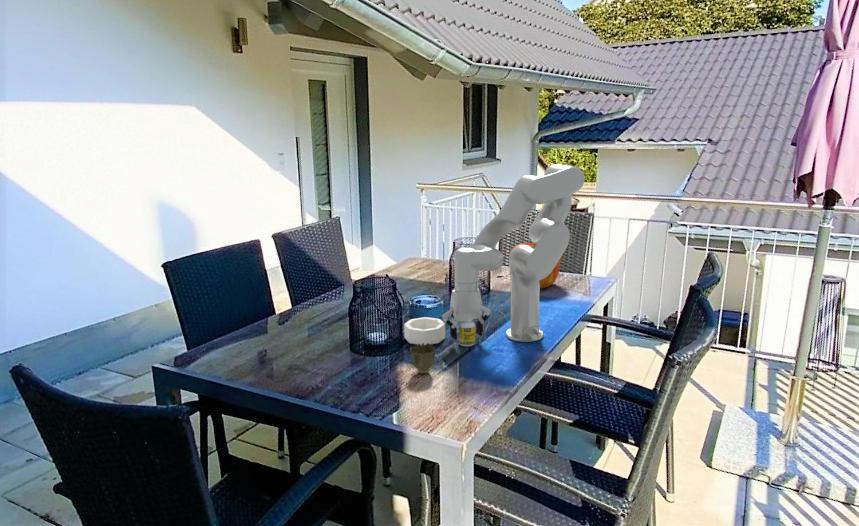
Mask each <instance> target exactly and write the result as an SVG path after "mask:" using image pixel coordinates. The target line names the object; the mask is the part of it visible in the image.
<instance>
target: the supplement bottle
mask: <svg viewBox="0 0 859 526" xmlns="http://www.w3.org/2000/svg"><path fill="white" fill-rule="evenodd" d="M458 344H459V345H460V346H462V347H473V346H474V345H475V344H476V322H474V320H470V319H469V320H466V321H459V322H458Z"/></svg>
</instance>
